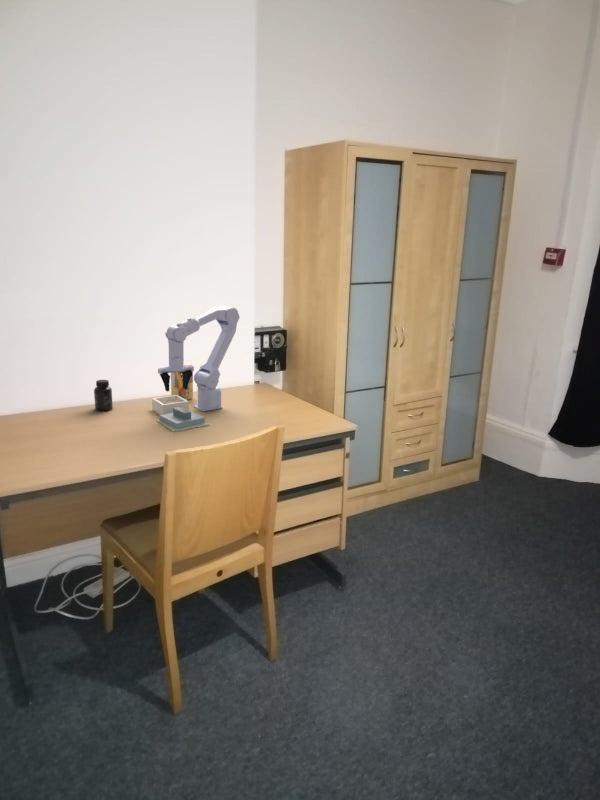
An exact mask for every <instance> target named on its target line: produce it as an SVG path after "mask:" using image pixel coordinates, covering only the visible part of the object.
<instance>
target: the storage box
mask: <svg viewBox="0 0 600 800" xmlns="http://www.w3.org/2000/svg"><path fill="white" fill-rule="evenodd" d="M151 406H152V407H151V408H152V411H153V410H154V411H153V412H155V413H156V412H157V414H158V415H159V414H160V415H164V414H168V413H173V408H176V407H181V408H184V409H186V410H189V400H188V399H186V400H185V399H183V398H182V397H180V396H178V395H172V396H171V395H168V396H167V395H166V396H158V397H152V398H151ZM189 411H190V410H189Z"/></svg>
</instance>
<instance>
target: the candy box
mask: <svg viewBox="0 0 600 800" xmlns="http://www.w3.org/2000/svg"><path fill="white" fill-rule="evenodd" d="M191 365H192V364H190V363H184V366H191ZM192 366H194V365H192ZM191 372H194V371H191ZM170 393H171V394H170V396H172V395H178V396H180V397H182V398H183V399H185V400H192V398H193V399H194V374H193V375H192V376H191V378H190V380H189V383H188V386H187V389H184V388H183V376H182V372H174V373H170Z"/></svg>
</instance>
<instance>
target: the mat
mask: <svg viewBox="0 0 600 800" xmlns="http://www.w3.org/2000/svg"><path fill="white" fill-rule="evenodd" d="M156 422H158V423H159V422H160V424H161V425H162V424H163V427H165V428H167V429H169V430H170V431H171V430H172V432H173V433H175V431H176V432H180V431H181V432H182V431H186V430H191V428H192V429H197V428H196V427H198V428H203V427H207V426H208V427H209V426H210V423H208V422H206V421H205V423H201V424H197V425H193V426H189V427H184V428H180V429H176V428H174V427H172V426H169V425H167V424H165V423H163V422H161V421H160V418H159V419H156ZM202 426H203V427H202Z"/></svg>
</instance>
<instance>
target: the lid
mask: <svg viewBox="0 0 600 800" xmlns="http://www.w3.org/2000/svg"><path fill="white" fill-rule="evenodd" d="M158 416H159V419H160V421H161V422H163V423H165V424H167V425H169V426H172V427H174V428H176V429H180V428H184V427H189V426H193V425H197V424H201V423H205V422H206V416H202V415H200V414H199V413H195V412H193V411H191V410H186V409H184V408H181V407H176V408H173V413H168V414H164V415H159V414H158Z"/></svg>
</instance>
